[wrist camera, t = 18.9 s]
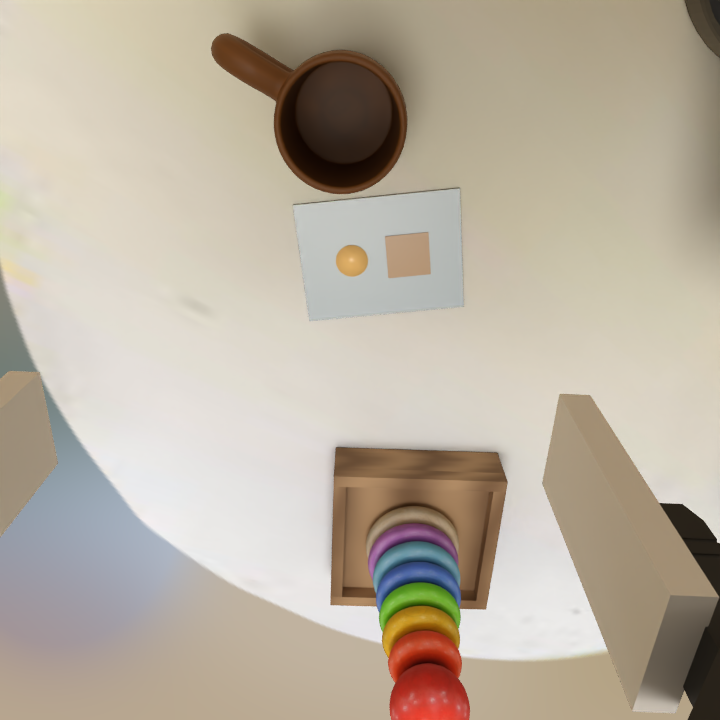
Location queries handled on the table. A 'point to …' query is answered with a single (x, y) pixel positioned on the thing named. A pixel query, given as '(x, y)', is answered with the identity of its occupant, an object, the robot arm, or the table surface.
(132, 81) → the table surface
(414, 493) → the wooden tray
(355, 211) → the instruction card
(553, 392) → the table surface
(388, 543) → the stacking toy
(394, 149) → the mug
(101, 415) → the table surface
